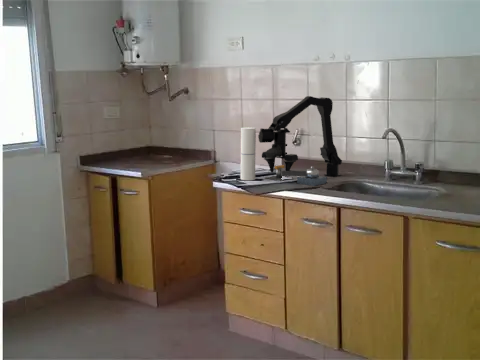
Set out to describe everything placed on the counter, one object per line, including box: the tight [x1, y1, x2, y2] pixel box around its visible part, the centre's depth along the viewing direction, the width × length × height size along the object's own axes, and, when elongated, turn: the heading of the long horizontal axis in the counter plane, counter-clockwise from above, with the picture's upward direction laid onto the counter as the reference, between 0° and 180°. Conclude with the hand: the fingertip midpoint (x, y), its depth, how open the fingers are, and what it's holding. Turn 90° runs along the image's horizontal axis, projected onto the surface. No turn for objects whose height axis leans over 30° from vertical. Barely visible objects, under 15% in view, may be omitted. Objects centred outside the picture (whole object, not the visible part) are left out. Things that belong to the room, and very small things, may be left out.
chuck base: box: [296, 175, 328, 187], centre depth 272 cm, size 10×10×3 cm
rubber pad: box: [264, 175, 282, 182], centre depth 284 cm, size 10×10×1 cm
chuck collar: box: [281, 166, 320, 177], centre depth 270 cm, size 18×6×5 cm, turn 94°
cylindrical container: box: [240, 126, 257, 181], centre depth 279 cm, size 7×7×25 cm
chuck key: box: [274, 164, 285, 178], centre depth 283 cm, size 6×3×6 cm, turn 136°
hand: (279, 173), depth 283 cm, fingers open, 9 cm apart
